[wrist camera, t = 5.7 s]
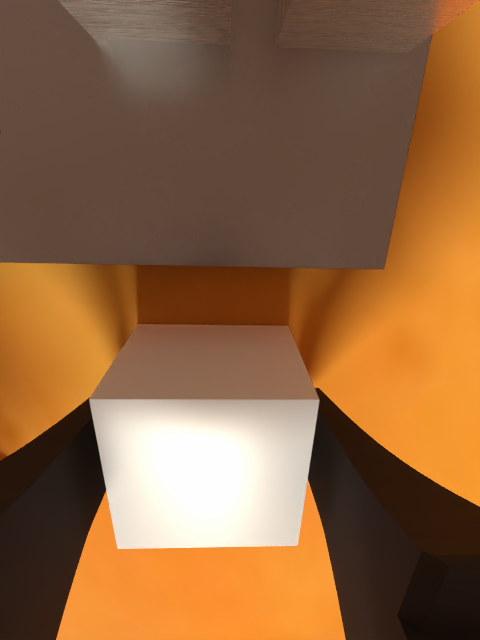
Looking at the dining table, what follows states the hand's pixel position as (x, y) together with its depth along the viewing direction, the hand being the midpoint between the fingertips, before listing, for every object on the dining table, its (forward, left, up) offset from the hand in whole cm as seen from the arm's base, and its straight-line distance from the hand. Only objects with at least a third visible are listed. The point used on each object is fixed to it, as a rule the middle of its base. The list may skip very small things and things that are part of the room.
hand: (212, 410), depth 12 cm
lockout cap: (0, 0, -1) cm, 1 cm away
